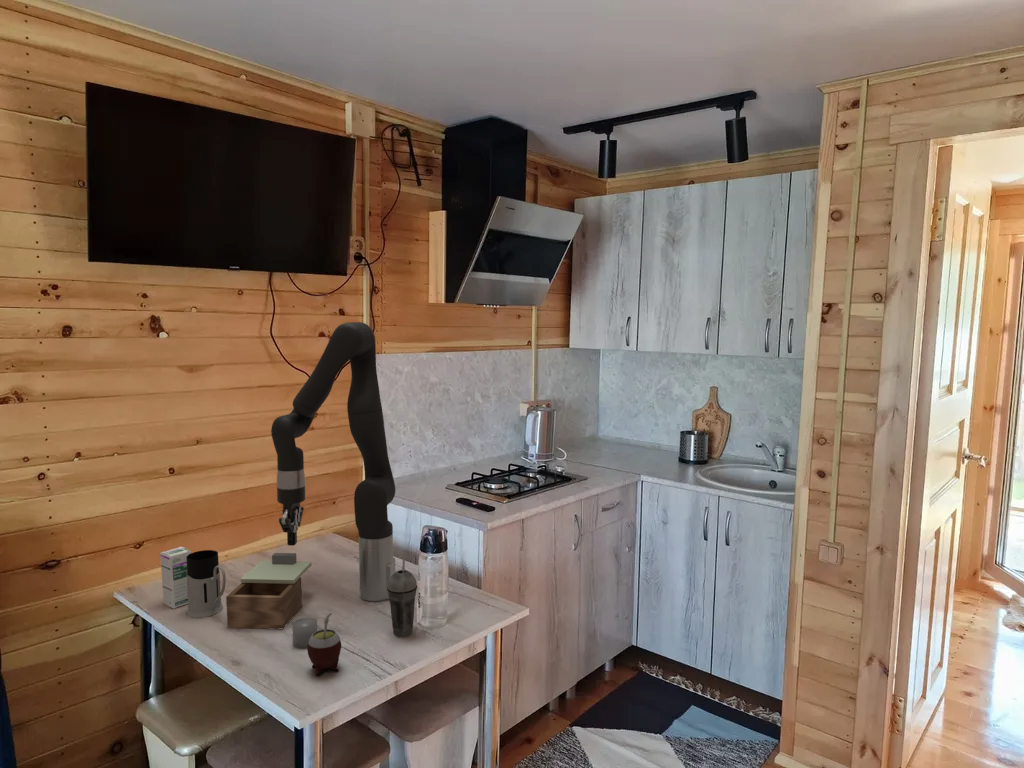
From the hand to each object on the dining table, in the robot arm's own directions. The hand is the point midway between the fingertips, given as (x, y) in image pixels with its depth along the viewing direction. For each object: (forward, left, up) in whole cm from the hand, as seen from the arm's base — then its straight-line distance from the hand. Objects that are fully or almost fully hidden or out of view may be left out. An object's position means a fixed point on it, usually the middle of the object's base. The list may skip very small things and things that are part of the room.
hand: (292, 544), depth 193 cm
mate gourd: (-24, +45, -13) cm, 52 cm away
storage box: (0, +20, -12) cm, 23 cm away
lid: (0, +12, -4) cm, 12 cm away
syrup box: (+27, +13, -13) cm, 32 cm away
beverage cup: (-37, +27, -13) cm, 47 cm away
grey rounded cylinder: (-15, +33, -12) cm, 38 cm away
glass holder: (+15, +18, -13) cm, 27 cm away
